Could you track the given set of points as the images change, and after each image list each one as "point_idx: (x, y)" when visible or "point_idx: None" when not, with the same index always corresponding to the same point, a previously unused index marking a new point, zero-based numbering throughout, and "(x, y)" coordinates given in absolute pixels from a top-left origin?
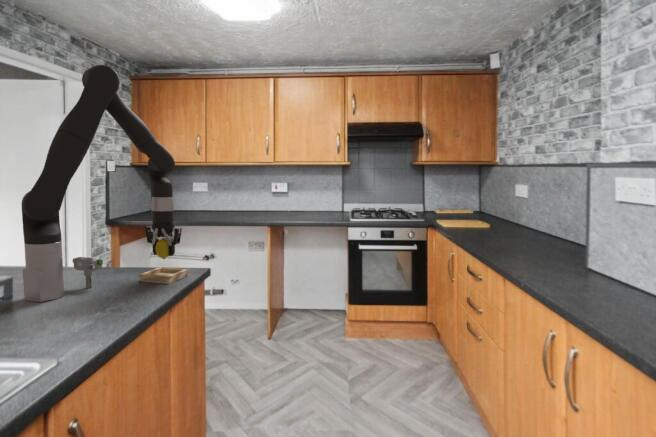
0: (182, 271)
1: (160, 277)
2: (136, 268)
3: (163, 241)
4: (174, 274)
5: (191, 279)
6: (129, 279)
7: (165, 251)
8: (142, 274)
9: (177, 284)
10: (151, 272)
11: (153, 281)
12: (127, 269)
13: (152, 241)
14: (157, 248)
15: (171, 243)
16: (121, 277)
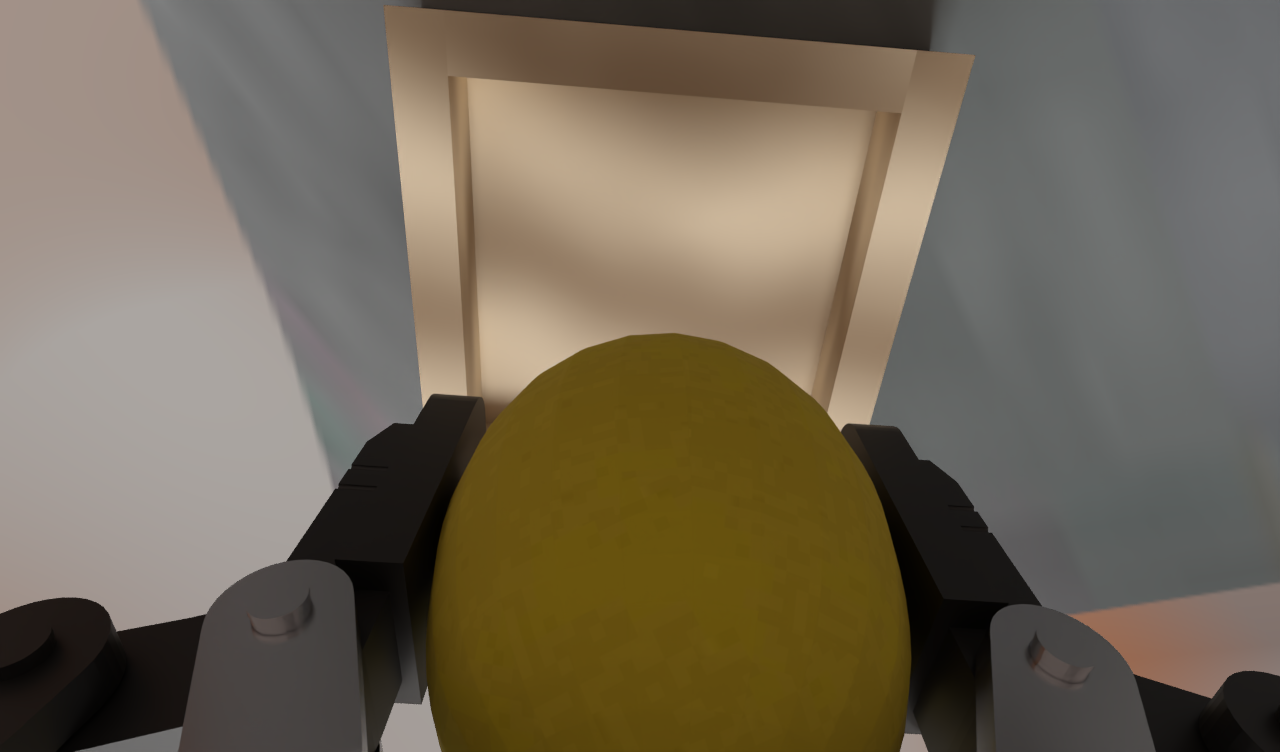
0: (427, 384)
1: (550, 19)
2: (1180, 578)
3: (561, 706)
4: (417, 202)
5: (298, 301)
6: (1111, 111)
7: (508, 406)
8: (917, 77)
9: (284, 12)
10: (852, 285)
11: (685, 30)
12: (1276, 528)
13: (1124, 718)
14: (753, 413)
15: (202, 638)
16: (1262, 187)
